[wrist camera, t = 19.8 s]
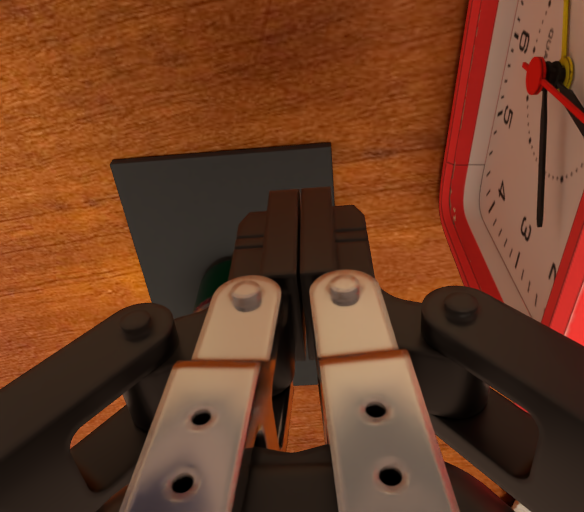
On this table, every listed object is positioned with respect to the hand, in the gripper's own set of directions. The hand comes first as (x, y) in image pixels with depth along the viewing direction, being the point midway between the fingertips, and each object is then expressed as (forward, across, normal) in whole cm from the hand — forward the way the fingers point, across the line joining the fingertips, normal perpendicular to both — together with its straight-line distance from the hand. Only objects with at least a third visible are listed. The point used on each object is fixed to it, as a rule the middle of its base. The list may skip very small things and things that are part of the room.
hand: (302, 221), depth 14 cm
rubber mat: (+16, +5, +14) cm, 22 cm away
